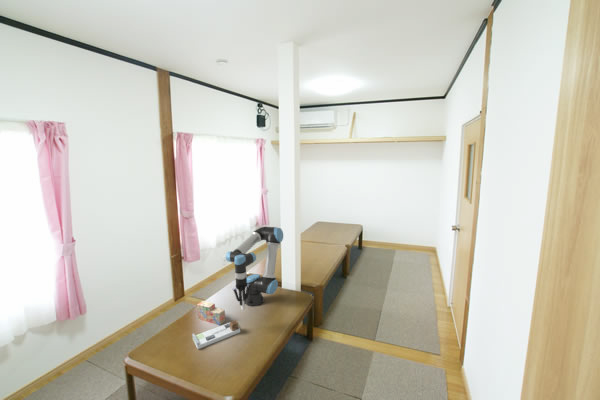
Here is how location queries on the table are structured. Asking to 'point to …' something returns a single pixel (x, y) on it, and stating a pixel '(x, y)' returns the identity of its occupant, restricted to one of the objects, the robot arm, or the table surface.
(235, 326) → the walnut block
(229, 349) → the table surface
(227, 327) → the box
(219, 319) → the stack of blocks
